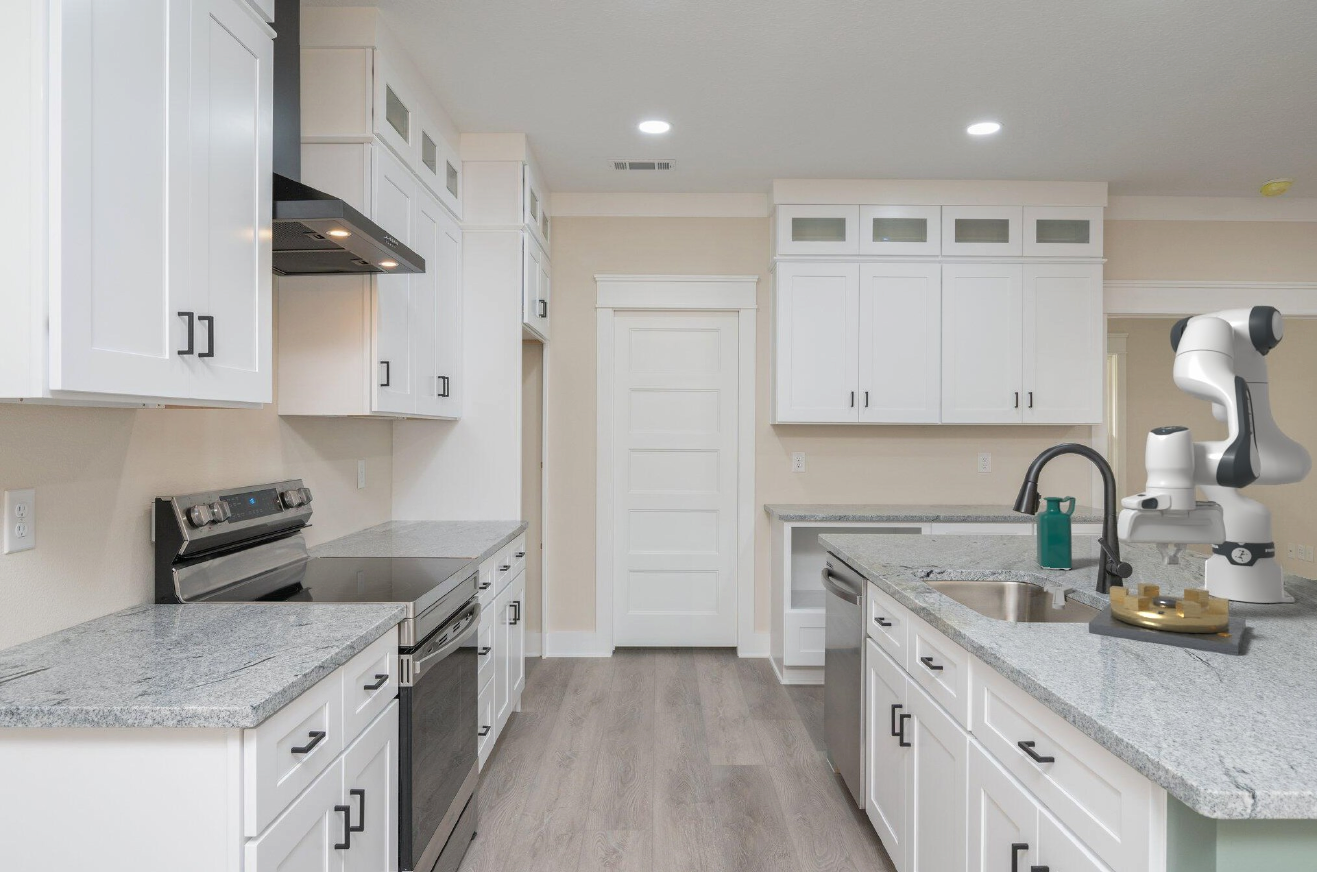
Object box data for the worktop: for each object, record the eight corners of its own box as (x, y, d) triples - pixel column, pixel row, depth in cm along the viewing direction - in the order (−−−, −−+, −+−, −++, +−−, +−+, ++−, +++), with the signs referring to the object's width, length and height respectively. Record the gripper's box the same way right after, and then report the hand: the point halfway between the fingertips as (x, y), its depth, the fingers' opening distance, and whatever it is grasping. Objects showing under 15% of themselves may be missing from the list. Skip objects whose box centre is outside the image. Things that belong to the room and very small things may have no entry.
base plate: (1111, 610, 164) (1111, 601, 164) (1245, 628, 148) (1245, 617, 148) (1088, 632, 146) (1088, 622, 146) (1238, 655, 130) (1237, 643, 130)
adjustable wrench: (1065, 612, 165) (1065, 604, 165) (1034, 608, 169) (1034, 601, 169) (1073, 591, 186) (1073, 584, 186) (1046, 588, 190) (1045, 582, 190)
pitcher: (1042, 569, 214) (1041, 497, 214) (1036, 564, 222) (1034, 495, 222) (1078, 571, 211) (1077, 497, 211) (1071, 566, 219) (1069, 495, 219)
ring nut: (1120, 603, 161) (1119, 579, 161) (1232, 617, 147) (1232, 591, 148) (1101, 621, 146) (1101, 594, 146) (1224, 638, 133) (1224, 609, 133)
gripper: (1213, 499, 155) (1214, 562, 155) (1113, 499, 158) (1114, 561, 157) (1232, 502, 149) (1233, 567, 148) (1128, 501, 151) (1129, 565, 151)
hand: (1171, 564), depth 153 cm, fingers closed
